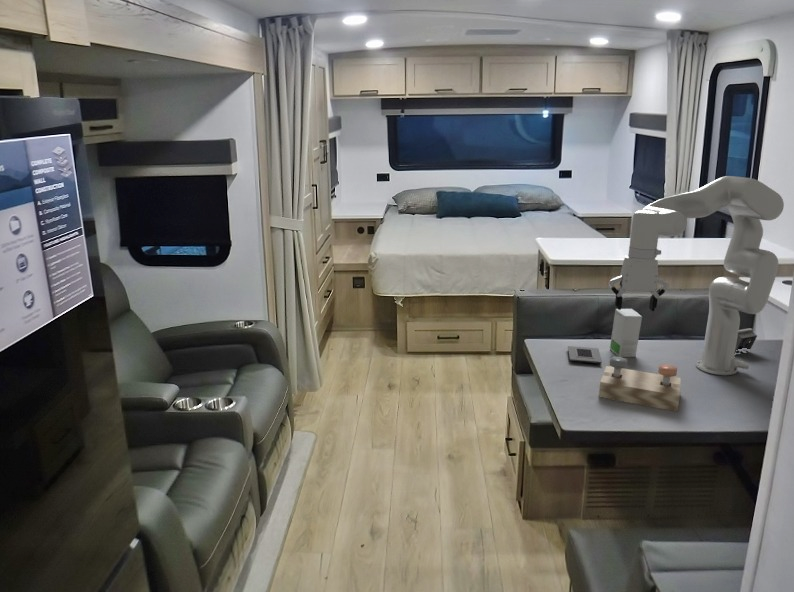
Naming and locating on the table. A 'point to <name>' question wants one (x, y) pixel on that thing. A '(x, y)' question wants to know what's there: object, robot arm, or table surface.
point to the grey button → (618, 365)
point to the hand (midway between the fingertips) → (635, 309)
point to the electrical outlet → (584, 354)
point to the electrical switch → (745, 339)
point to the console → (640, 388)
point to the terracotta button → (667, 373)
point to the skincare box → (625, 332)
